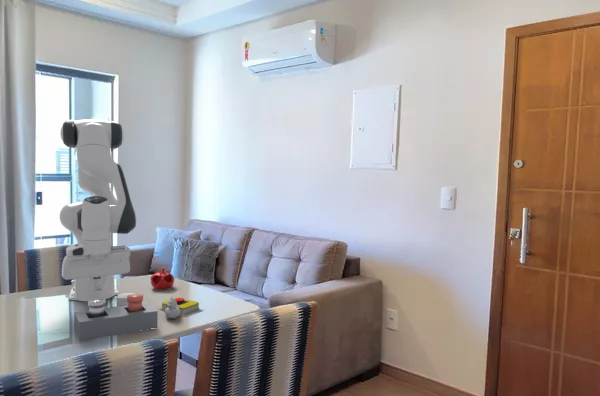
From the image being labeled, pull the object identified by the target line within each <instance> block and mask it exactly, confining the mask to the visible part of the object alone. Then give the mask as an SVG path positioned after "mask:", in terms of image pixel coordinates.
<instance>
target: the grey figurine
mask: <svg viewBox="0 0 600 396" xmlns="http://www.w3.org/2000/svg"><path fill="white" fill-rule="evenodd" d="M173 299H174V300H173ZM168 301H169V302H168V308H166V310H165V311H164V314H165V317H166V318H167V319H176V318H178V317H179V316H181V315H180V309H179V305H177V301H176V300H175V298H173V297H171V298H170V299H169V300H168Z"/></svg>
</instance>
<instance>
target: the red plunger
mask: <svg viewBox="0 0 600 396" xmlns="http://www.w3.org/2000/svg"><path fill="white" fill-rule="evenodd" d="M143 301H144V294H142V293H135V294H131V295H128V296H127V302H128V312H137V311H142V303H143Z"/></svg>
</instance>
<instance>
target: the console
mask: <svg viewBox="0 0 600 396" xmlns="http://www.w3.org/2000/svg"><path fill="white" fill-rule="evenodd" d="M73 315H74V316H73V318H74V320H73V321H74V323H73V324H74V326H73V327H74V332H75V335H76V337H77V339H78V341H79V342H84V341H89V340H90V341H91V340H96V339H101V338H102V339H103V338H108V337H115V336H120V335H126V334H125V333H127V334H130V333H129V332H133V333H136V332H135V331H139V332H141V331H140V330H145V331H147V330H146V329H151V328H157V329H158V320H159V319H158V318H159V317H158V310H157V309H156V308H155V306H153V305H152V304H151V303H150V302H142V311H137V312H128V305H125V306H117V305H116V306H110V307H104V316H102V317H95V318H91V317H90V309H88V310H82V311H74V314H73ZM151 330H152V329H151Z"/></svg>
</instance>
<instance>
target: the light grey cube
mask: <svg viewBox="0 0 600 396" xmlns="http://www.w3.org/2000/svg"><path fill="white" fill-rule="evenodd" d="M131 294H136V293H135V292H128V293H119V294H117V295H116V307H117V306H125V305H128V302H127V296H128V295H131Z"/></svg>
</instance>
